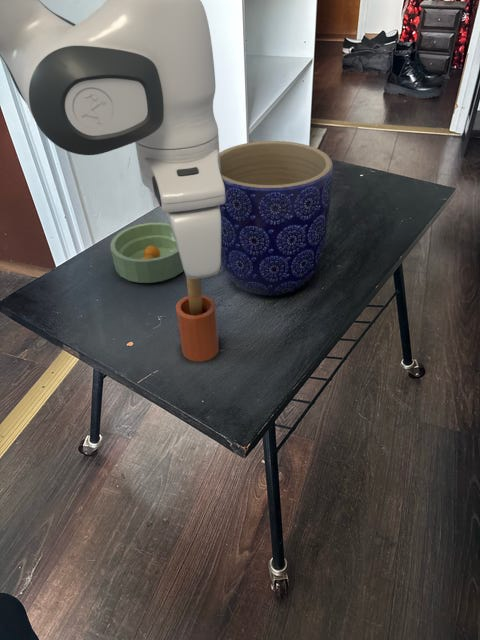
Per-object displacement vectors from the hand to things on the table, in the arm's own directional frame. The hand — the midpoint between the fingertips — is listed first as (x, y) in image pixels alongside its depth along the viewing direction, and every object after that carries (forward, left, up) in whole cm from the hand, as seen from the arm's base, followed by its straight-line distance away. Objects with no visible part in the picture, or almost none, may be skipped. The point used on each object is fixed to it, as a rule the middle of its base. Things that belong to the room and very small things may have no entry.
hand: (191, 268), depth 61 cm
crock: (0, 0, -14) cm, 14 cm away
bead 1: (-4, +25, -12) cm, 28 cm away
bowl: (-4, +25, -14) cm, 29 cm away
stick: (0, 0, -14) cm, 14 cm away
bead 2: (-5, +22, -12) cm, 26 cm away
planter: (+15, +15, -14) cm, 26 cm away
